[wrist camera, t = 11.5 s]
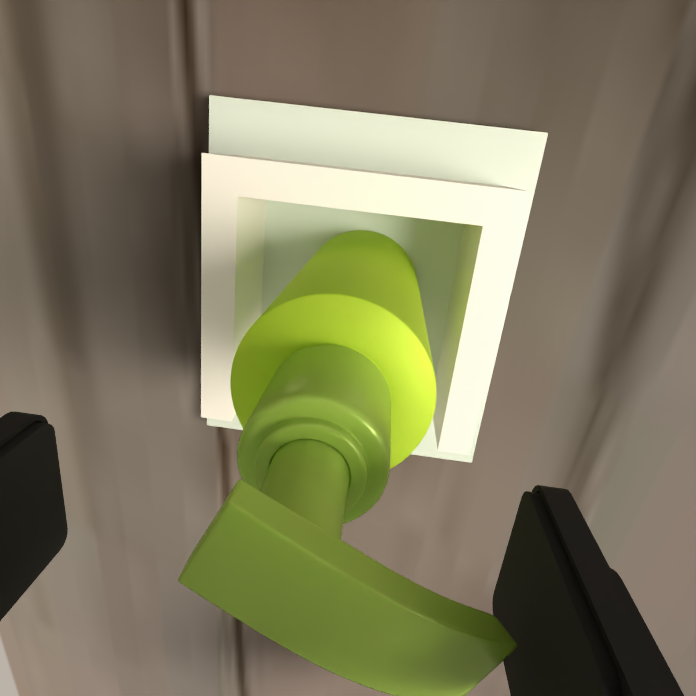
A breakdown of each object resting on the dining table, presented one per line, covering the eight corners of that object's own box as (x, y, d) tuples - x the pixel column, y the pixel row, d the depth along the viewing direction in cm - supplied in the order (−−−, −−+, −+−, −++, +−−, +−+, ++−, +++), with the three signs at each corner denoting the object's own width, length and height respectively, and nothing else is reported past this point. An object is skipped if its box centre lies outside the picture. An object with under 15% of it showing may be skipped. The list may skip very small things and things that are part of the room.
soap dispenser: (394, 367, 28) (391, 794, 9) (286, 302, 27) (39, 621, 8) (456, 280, 26) (619, 595, 7) (342, 207, 25) (182, 342, 6)
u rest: (216, 97, 25) (163, 78, 19) (542, 134, 24) (587, 125, 18) (212, 416, 31) (172, 473, 25) (469, 453, 30) (485, 519, 25)
